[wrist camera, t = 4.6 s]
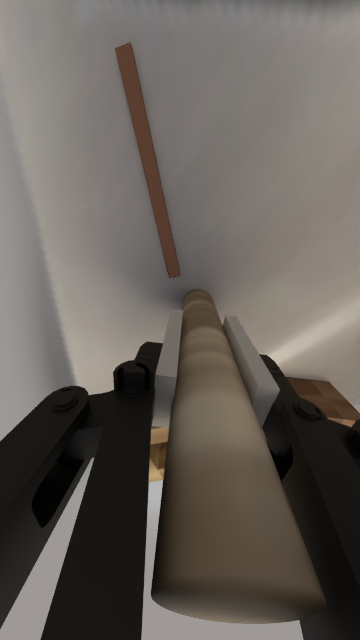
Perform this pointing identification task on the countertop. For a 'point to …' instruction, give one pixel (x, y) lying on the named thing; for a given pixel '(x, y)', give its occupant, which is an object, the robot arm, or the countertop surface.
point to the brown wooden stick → (147, 153)
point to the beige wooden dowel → (224, 496)
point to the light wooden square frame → (158, 453)
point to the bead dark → (326, 400)
